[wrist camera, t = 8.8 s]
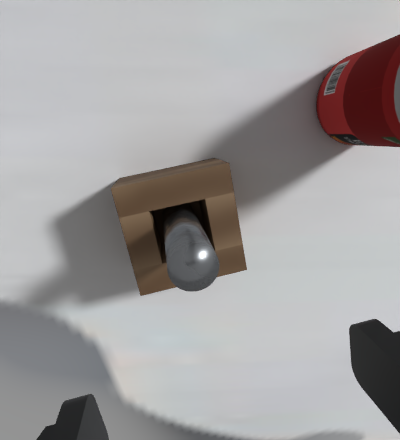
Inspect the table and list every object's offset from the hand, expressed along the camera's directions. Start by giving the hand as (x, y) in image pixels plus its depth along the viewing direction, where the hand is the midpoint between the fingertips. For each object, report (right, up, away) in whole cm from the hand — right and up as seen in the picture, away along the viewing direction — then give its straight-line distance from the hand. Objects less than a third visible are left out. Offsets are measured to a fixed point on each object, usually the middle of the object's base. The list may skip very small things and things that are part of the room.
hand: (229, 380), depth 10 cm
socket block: (-3, +6, +21) cm, 22 cm away
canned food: (+14, +16, +21) cm, 30 cm away
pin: (-3, +5, +20) cm, 21 cm away
